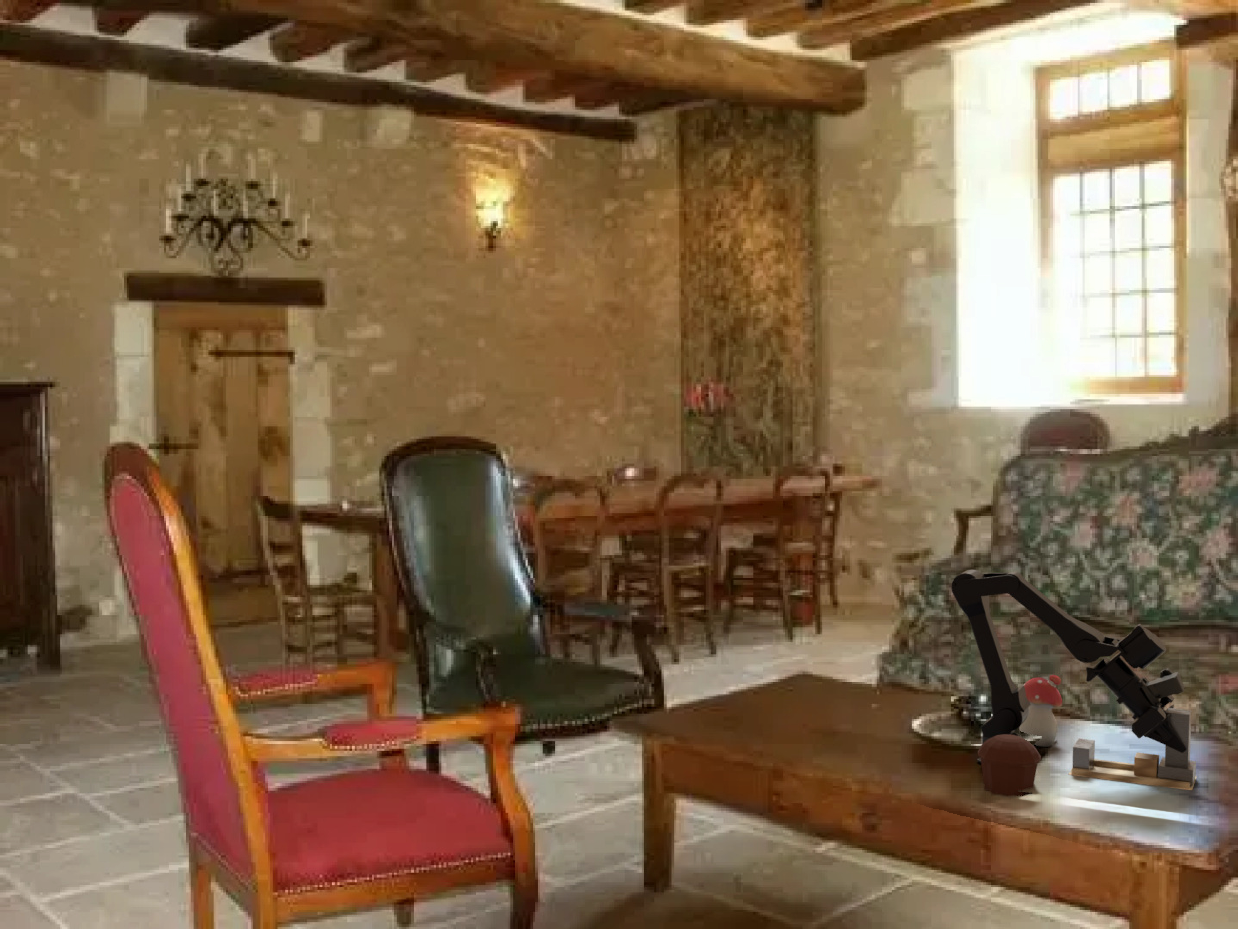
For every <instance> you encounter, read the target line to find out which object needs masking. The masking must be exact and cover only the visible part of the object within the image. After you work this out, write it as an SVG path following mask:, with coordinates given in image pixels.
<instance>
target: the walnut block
mask: <svg viewBox="0 0 1238 929" xmlns="http://www.w3.org/2000/svg"><path fill="white" fill-rule="evenodd" d="M1133 764H1134V775H1135V776H1143V777H1151V778H1158V767H1159V764H1160V754H1154V753H1144V752H1136V754H1135V756H1134V762H1133Z"/></svg>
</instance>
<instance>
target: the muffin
mask: <svg viewBox="0 0 1238 929" xmlns="http://www.w3.org/2000/svg"><path fill="white" fill-rule="evenodd" d="M977 755H978V757H979V759H981V763H980V764H981V772H982V777H983V786H984V790H986V791H988V792H990V793H992V794H994V795H1000V796H1003V797H1004V796H1005V797H1025V796H1028V795H1032V794H1033V792H1029V791H1026V790H1028V789H1033V788H1034V783H1035V780H1036V775H1037V774H1036V773H1037V767H1038V764H1039V763H1040V762H1041V759H1042V756H1041V754H1040V753H1039V751H1038V749H1037V748H1036V746H1034V745H1032V744H1031V743H1030V742H1029V741H1027V740H1025V739H1024V738H1022V737H1021V736H1019V735H1018V736H1015V735H1009V734H1003V735H996V736H994V737H992V738H990V739H988V740H986V741H985V742H984V743H983V742H982V744H981V745H980V747H979V748H978V750H977Z"/></svg>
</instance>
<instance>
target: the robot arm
mask: <svg viewBox="0 0 1238 929" xmlns="http://www.w3.org/2000/svg"><path fill="white" fill-rule="evenodd" d="M950 589H951V593H952V595H953V597H954V598H955V601H956V602H957V606H959V608H960V610H961V611H962V612H963V613H964V615H965V616H966V617H967V619H968V621H969V624H970V627H971V630H972V633H973V636H974V640H975V643H976V646H977V649H978V652H979V655H980V658H981V661H982V664H983V667H984V670H985V674H986V677H987V679H988V682H989V686H990V705H991V713H992V716H990V717H989V719H987V720H986V722H984V723H983V725H981V727H980V729H981V732H982V744H983V743H984V742H985V741H986V740H988V739H990V738H992V737H994V736H996V735H1003V734H1009V735H1015V736H1019V734H1018V733H1016V731H1017V729H1019V727H1020V726H1021V724H1022V723H1023V722H1024V721H1025V720H1026V718H1027V717H1028V714H1029V709H1028V707H1029V706H1030V705H1031V704H1030V702H1029V701H1028V699H1027V697H1026V692H1025V687H1024V686H1023V685H1022V686H1019V687H1018V686H1017V685H1016V684H1015V683H1014V681H1013V680H1012V677H1011V674H1010V671H1009V667H1008V664H1007V661H1006V658H1005V656H1004V653H1003V650H1002V646H1001V643H1000V640H999V637H998V634H997V631H996V628H995V625H994V621H993V620H992V616H991V612H990V596H994V595H1005V594H1007V595H1009V596H1011V597H1012V598H1013V599H1014V600H1016V601H1017V602H1018V603H1020V605H1021V606H1022V607H1024V608H1025V609H1026V610H1027V611H1029V612H1030V613H1031V614H1032V615H1034V617H1036V618H1037V619H1039V620H1040V621H1041V622H1042V623H1043V624H1044V625H1046V626H1047V627H1048V628H1050V629H1051V631H1053V632H1054V633H1055V634H1056V635H1057V636H1058V638H1059V639H1060V641H1061V642H1062V643H1063V645H1064V646H1065V648H1066V649H1067V650H1068V651H1069V652H1070V654H1072V656H1073V657H1074V658H1075V659H1076V660H1077V661H1079V662H1081V663H1084V664H1087V663H1088V664H1089V663H1094V662H1096V661H1097V660H1098V659H1100V658H1102V659H1101V660H1100V661H1099V662H1097V663H1096V664H1094V665H1087V667H1085V670H1086V677H1085V679H1086V682H1088V683H1090V682H1091V681H1092V680H1094V679H1095V678H1098V679H1099V680H1100V681H1101V682H1102V683H1103V684H1104V685H1105V687H1107V689H1108V690H1109V691H1110V692H1111V693H1112V694H1113V695H1114V696H1115V697H1116V702H1117V703H1118V704H1119V705H1123V706H1124V707H1125V708H1126V709H1127V710H1128V711H1129V712H1130V713H1131V714H1132V716H1131V718H1132V719H1133V722H1132V723H1131V732H1132V733H1133V734H1134V735H1135V736H1136V737H1137V738H1138V739H1141V738H1143V737H1145V738H1149V739H1150V740H1153V741H1156V742H1157V743H1160V744H1163V745H1164V746H1168V747H1171V748H1173V749H1175V750H1177V751H1179V752H1181V753H1183V752H1185V751H1186V750H1187V749H1186V747H1185V746H1184V744H1183V743H1182V741H1181V740H1180V738H1179V737H1178V735H1177V734H1176V733H1175V731H1174V730H1173V728H1172V727H1171V725H1170V713H1169V714H1168V715H1166V712H1167V710H1168V708H1175V704H1172V705H1170V706H1169V707H1168V708H1167V705H1168V704H1169V703H1172V702H1174V700H1175V697H1174V696H1173V695H1179V694H1182V693H1183V692H1184V691H1185V690H1184V689H1185V688H1186V687H1185V685H1184V682H1183V681H1182V676H1181V675H1180V674H1179V672H1178V671H1176V672H1173V670H1171V669H1170V668H1164V669H1162V670H1160V673H1159V677H1158V678H1156V679H1154V680H1151V681H1149V679H1147V678H1146V677H1143V676H1141V677H1140V676H1139V675H1138V674H1137V673H1136V672H1135V671H1134V670H1133V669H1138V668H1140V669H1141V670H1145V669H1146V668H1147V667H1148V666H1149V665H1152V663H1153V662H1154V661H1156V659H1158V658H1159V657H1161V656H1162V655H1163V654H1165V652H1166V651H1167V648H1166V645H1165V644H1164V643H1163V641H1162V640H1161V639H1160V638H1159V637H1158V636H1157V634H1155V633H1153V632H1151V630H1149V629H1148V628H1145V627H1144V625H1142V624H1141V623H1139V624H1137V625H1136V626H1135V627H1134V628H1133V630H1132V631H1131V632H1130V633H1129V634H1127V635H1126V636H1125V637H1123V638H1122V639H1120V638H1114V637H1110V636H1106V635H1104V634H1103V633H1102V632H1101V631H1099V630H1098V629H1096V628H1094V627H1093V626H1091V625H1089V624H1087V623H1086V622H1083V621H1081V620H1079V619H1076V618H1075V617H1073V616H1071V615H1069V614H1068V613H1067V612H1065V611H1064V610H1063V609H1062V608H1061V607H1060V606H1058V605H1057V604H1056V603H1055V602H1053V601H1052V600H1051V599H1050V598H1049V597H1047V596H1046V595H1045V594H1044V593H1042V592H1041V590H1039V589H1038V588H1036V587H1035V586H1034V585H1032V584H1031V583H1030V582H1028V580H1026V579H1025V577H1024V575H1022V574H1021V573H1020V572H1018V571H1010V572H987V573H985V572H984V573H983V572H981V571H979V570H977V569H967V570H965V571H963V572H961V573H959V574H958V575H956V576H955V577H954V578H953V580H952V583H951V585H950ZM1117 651H1119V652H1118V653H1117V654H1115V653H1116V652H1117ZM1113 654H1115V655H1114V656H1113ZM1111 656H1113V657H1112V658H1110V659H1109V657H1111ZM976 762H978V763H980V764H981V759H980V758H977V759H976Z"/></svg>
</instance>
